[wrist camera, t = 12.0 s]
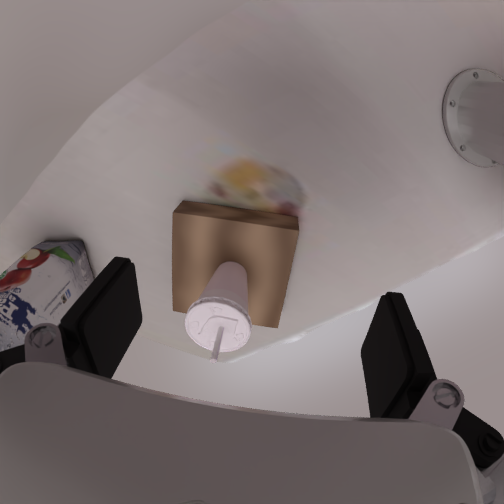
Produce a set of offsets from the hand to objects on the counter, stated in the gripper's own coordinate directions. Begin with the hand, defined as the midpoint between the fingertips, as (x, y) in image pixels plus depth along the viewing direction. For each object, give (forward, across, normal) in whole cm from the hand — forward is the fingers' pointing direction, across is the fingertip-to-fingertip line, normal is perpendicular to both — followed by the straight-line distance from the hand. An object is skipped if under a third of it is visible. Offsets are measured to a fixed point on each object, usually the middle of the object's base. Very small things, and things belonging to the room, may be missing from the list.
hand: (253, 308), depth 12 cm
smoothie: (+23, +4, +14) cm, 27 cm away
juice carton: (+26, +31, +17) cm, 44 cm away
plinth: (+26, +5, +14) cm, 30 cm away
